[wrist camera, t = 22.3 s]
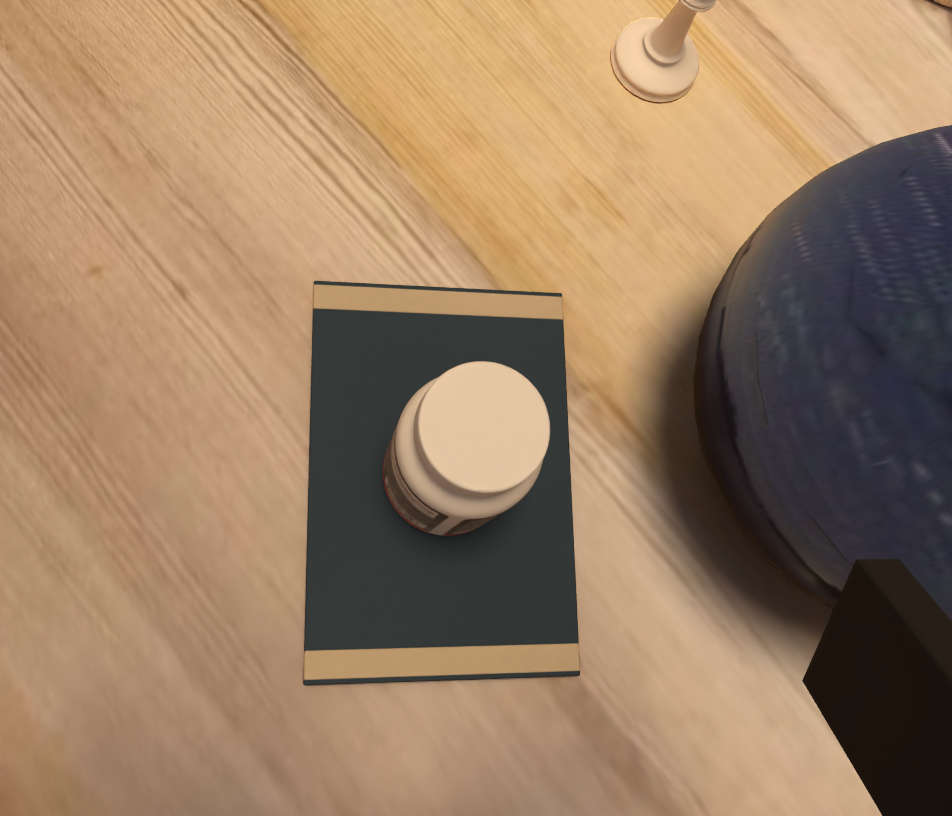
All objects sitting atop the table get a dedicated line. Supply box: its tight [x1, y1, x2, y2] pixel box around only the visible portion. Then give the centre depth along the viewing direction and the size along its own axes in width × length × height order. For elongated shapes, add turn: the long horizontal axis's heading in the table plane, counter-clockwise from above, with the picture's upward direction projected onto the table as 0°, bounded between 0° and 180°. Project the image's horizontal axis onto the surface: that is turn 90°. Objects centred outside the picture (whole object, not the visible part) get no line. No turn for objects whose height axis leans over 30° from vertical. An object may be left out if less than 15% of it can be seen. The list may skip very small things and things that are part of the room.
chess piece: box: [611, 0, 717, 102], centre depth 43 cm, size 5×5×10 cm
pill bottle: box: [383, 361, 550, 536], centre depth 34 cm, size 6×6×10 cm
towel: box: [303, 281, 580, 685], centre depth 39 cm, size 18×12×1 cm, turn 1°
